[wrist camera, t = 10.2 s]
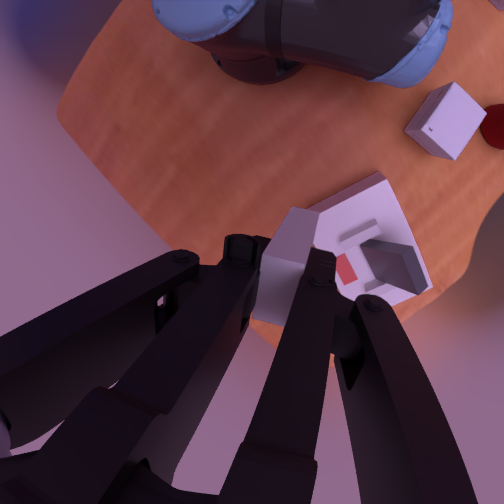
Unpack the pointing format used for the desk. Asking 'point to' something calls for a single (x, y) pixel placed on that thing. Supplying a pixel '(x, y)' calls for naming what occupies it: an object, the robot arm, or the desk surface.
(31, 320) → the robot arm
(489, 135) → the beverage can
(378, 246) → the lever
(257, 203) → the desk surface
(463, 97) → the small box
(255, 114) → the desk surface
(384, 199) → the breaker box
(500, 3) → the small box
